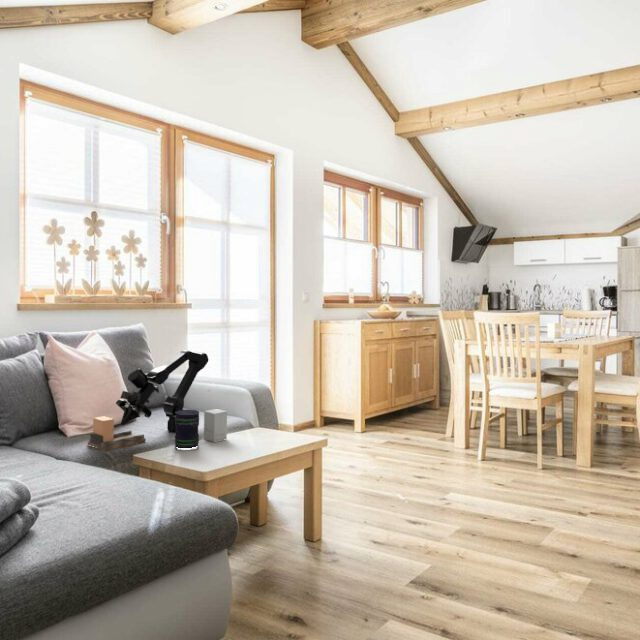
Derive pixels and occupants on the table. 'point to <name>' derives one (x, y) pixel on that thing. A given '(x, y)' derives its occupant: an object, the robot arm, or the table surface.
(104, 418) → the terracotta block
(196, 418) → the storage jar
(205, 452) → the table surface
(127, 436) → the walnut chute
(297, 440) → the table surface
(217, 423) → the supplement box
